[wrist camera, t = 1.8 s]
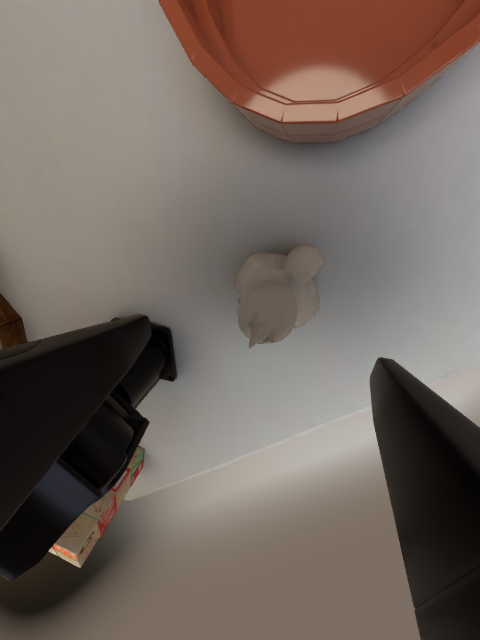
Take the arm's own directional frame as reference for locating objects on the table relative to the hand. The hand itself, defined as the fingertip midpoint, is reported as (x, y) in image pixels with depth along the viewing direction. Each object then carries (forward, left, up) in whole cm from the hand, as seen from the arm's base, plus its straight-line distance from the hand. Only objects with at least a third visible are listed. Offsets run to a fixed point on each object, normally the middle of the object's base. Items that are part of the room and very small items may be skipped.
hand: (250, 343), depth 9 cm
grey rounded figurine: (0, 0, -9) cm, 9 cm away
